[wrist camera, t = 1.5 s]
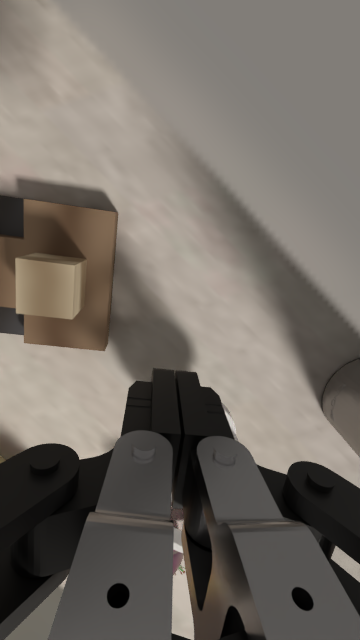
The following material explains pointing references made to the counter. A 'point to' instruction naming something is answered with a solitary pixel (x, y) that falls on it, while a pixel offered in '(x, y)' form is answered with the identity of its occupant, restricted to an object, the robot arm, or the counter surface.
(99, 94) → the counter surface
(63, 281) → the maple block
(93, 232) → the trap track
